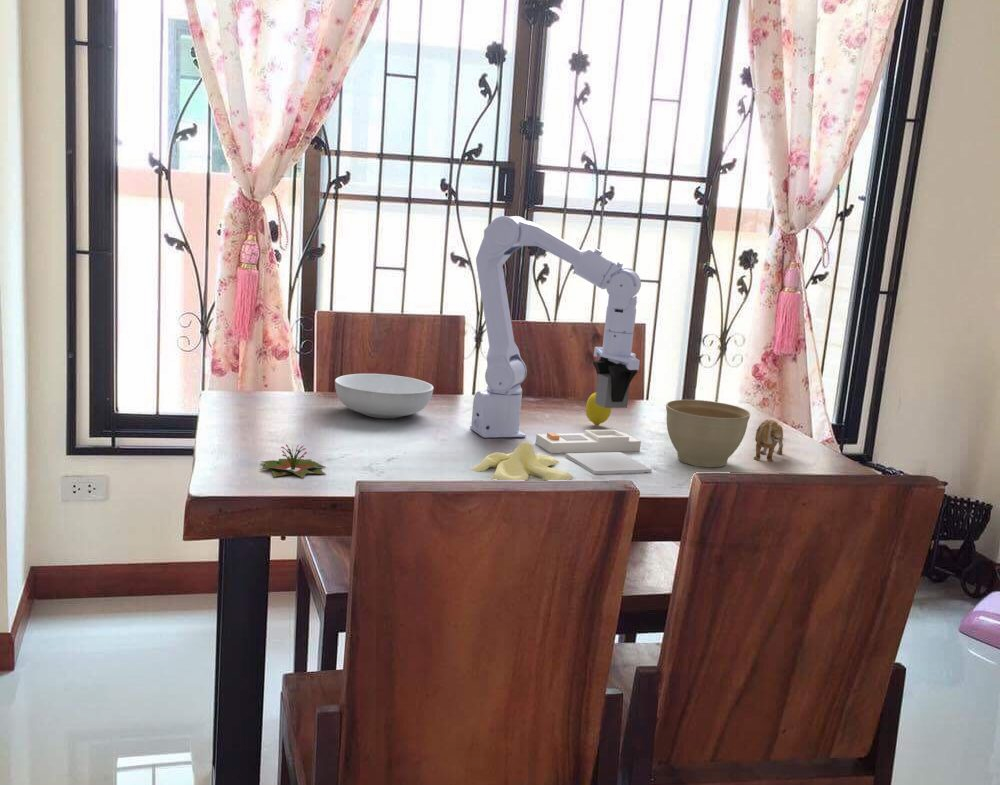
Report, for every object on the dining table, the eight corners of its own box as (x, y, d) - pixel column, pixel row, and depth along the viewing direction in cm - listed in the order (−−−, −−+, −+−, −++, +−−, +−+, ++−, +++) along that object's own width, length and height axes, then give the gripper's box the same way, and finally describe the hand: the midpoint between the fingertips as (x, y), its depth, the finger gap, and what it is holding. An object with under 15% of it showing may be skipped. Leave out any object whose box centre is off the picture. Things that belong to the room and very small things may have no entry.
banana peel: (546, 457, 194) (549, 426, 193) (594, 486, 178) (597, 452, 177) (438, 461, 185) (441, 428, 184) (478, 492, 169) (481, 456, 167)
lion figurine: (777, 467, 200) (784, 423, 198) (750, 463, 202) (756, 419, 200) (783, 452, 213) (789, 410, 212) (758, 447, 215) (763, 406, 213)
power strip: (550, 453, 195) (551, 439, 195) (535, 443, 202) (536, 430, 201) (639, 450, 203) (641, 437, 203) (622, 441, 210) (624, 428, 209)
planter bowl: (685, 446, 210) (691, 395, 208) (756, 464, 200) (764, 411, 198) (644, 458, 198) (651, 404, 196) (718, 478, 188) (726, 421, 186)
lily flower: (316, 460, 178) (318, 435, 177) (338, 480, 168) (339, 453, 167) (248, 463, 173) (249, 437, 172) (266, 483, 162) (267, 456, 162)
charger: (604, 407, 197) (608, 377, 196) (595, 403, 201) (598, 373, 200) (627, 407, 199) (630, 377, 198) (617, 403, 203) (620, 373, 202)
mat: (594, 474, 183) (594, 471, 183) (565, 456, 194) (565, 453, 194) (651, 472, 188) (651, 469, 188) (619, 454, 199) (620, 451, 199)
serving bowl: (427, 429, 206) (429, 396, 205) (325, 420, 206) (326, 387, 205) (435, 407, 226) (437, 377, 225) (342, 399, 226) (343, 369, 225)
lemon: (607, 430, 219) (611, 394, 217) (582, 426, 220) (586, 391, 218) (610, 424, 224) (614, 389, 223) (585, 421, 225) (589, 386, 224)
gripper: (656, 337, 192) (648, 407, 195) (618, 325, 205) (611, 391, 208) (624, 336, 189) (616, 407, 192) (587, 324, 202) (580, 391, 205)
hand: (611, 399), depth 200 cm, fingers closed on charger, 4 cm apart
